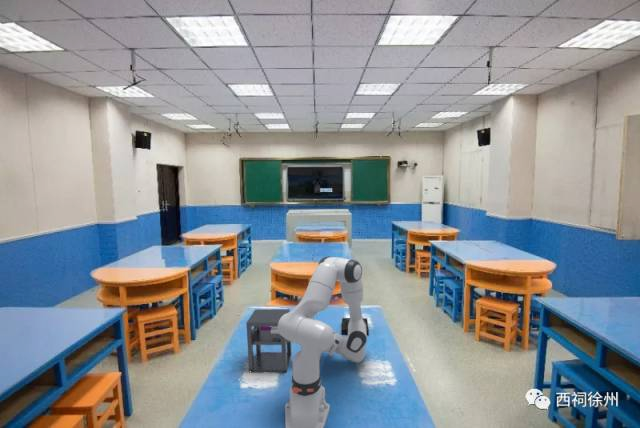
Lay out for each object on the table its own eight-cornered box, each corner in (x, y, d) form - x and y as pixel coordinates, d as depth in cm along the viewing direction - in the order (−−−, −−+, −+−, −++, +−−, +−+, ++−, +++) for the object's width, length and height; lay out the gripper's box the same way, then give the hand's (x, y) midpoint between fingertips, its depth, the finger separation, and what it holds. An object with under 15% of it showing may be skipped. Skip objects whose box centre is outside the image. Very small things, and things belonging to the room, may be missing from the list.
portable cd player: (367, 323, 206) (367, 317, 206) (368, 336, 189) (368, 330, 189) (342, 323, 208) (342, 317, 208) (341, 335, 191) (341, 329, 191)
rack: (287, 372, 154) (285, 322, 152) (249, 372, 156) (246, 322, 153) (292, 355, 170) (290, 309, 168) (257, 354, 172) (255, 309, 169)
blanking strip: (317, 333, 158) (317, 329, 157) (270, 333, 159) (270, 329, 159) (318, 329, 162) (317, 326, 161) (272, 329, 163) (272, 326, 163)
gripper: (338, 327, 169) (315, 315, 170) (337, 347, 149) (312, 333, 149) (332, 337, 170) (310, 324, 170) (331, 357, 150) (306, 344, 150)
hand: (311, 328), depth 160 cm, fingers closed on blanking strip, 4 cm apart
